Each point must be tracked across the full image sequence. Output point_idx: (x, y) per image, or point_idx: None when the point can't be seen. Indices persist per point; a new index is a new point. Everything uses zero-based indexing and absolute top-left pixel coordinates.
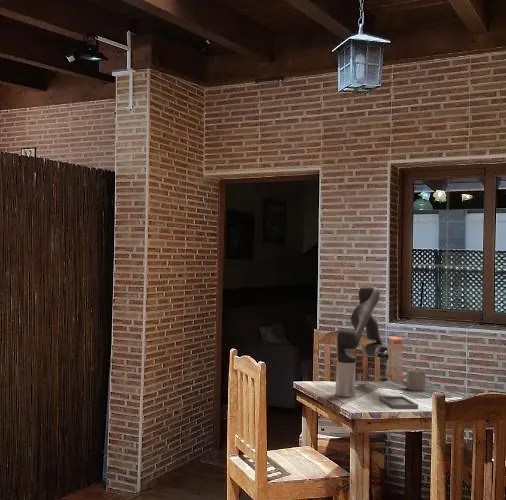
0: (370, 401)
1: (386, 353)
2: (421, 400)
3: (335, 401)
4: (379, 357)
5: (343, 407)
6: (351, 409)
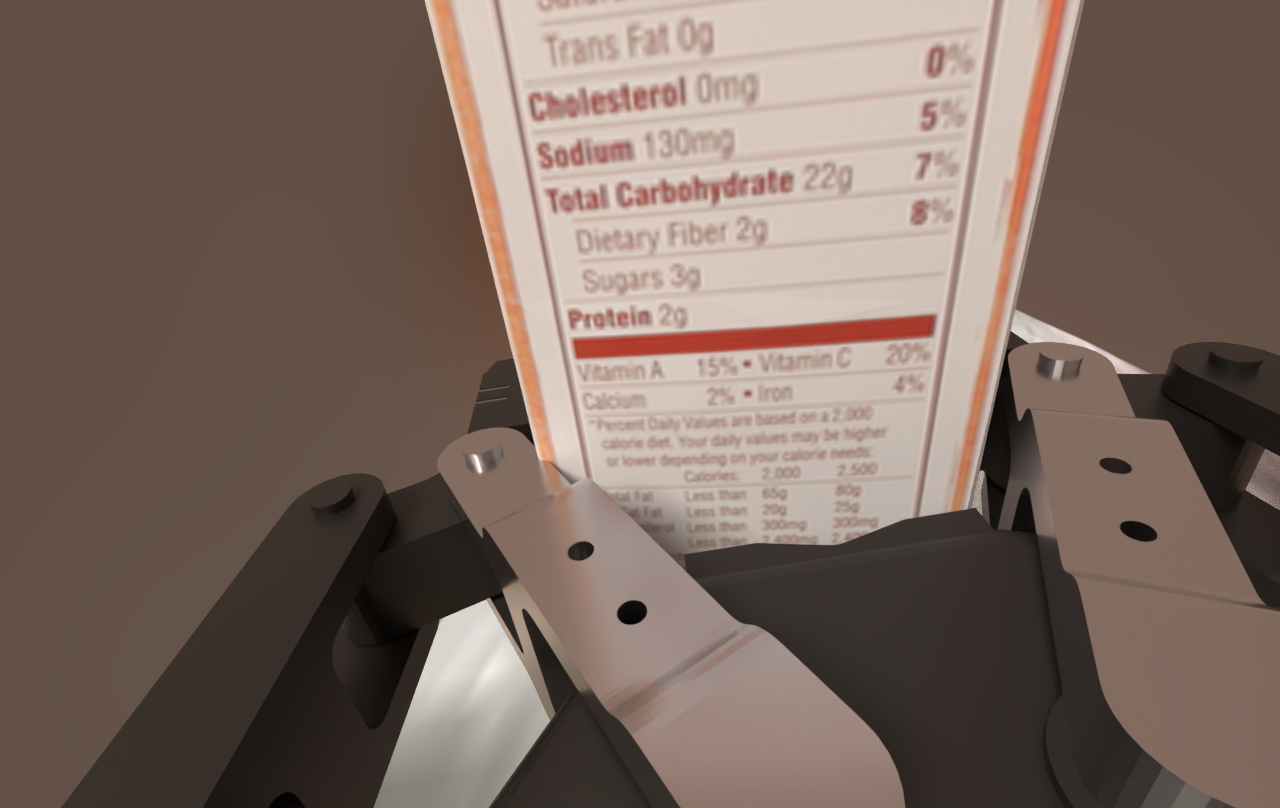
0: (978, 504)
1: (1022, 472)
2: (496, 619)
3: (1274, 454)
4: (1242, 511)
5: (1104, 356)
6: (1035, 339)
